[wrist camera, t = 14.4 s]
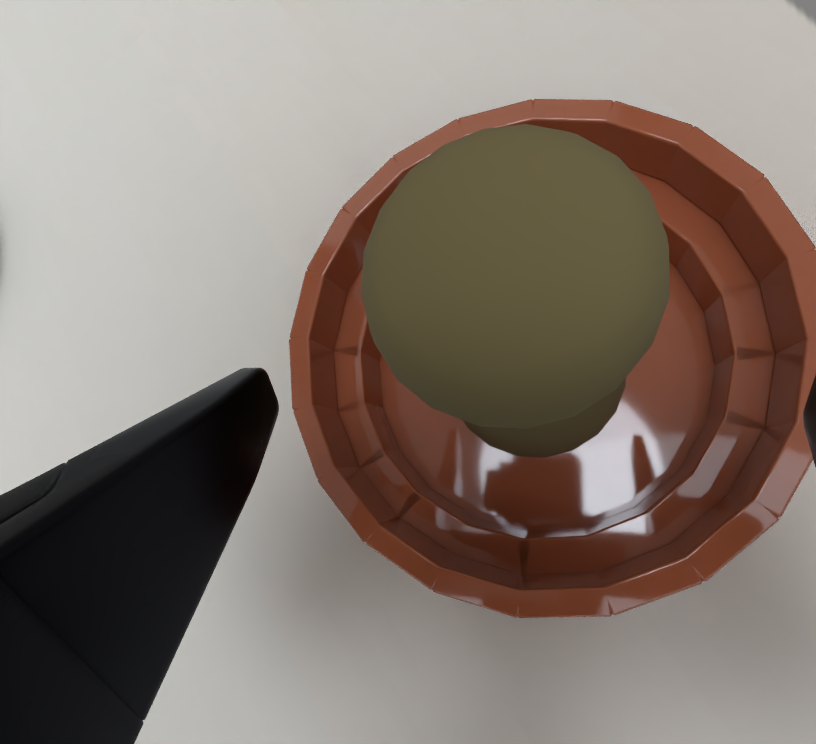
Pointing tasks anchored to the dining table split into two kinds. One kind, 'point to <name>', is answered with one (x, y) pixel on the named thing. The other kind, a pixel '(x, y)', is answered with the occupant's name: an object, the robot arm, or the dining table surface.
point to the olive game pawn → (518, 284)
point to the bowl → (623, 434)
